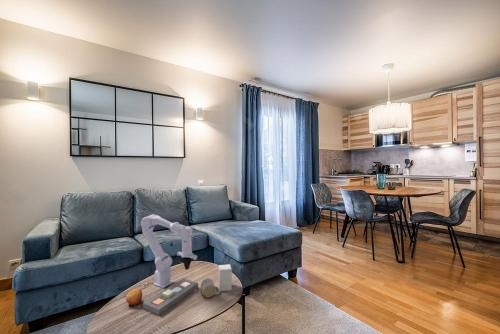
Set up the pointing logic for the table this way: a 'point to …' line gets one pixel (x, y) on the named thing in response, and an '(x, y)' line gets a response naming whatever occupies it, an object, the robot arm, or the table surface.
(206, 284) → the ceramic mug
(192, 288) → the keypad
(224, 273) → the supplement box
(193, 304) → the table surface
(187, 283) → the key ivory
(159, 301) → the key terracotta
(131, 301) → the fruit
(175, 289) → the key bluegrey
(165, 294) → the key sage
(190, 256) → the robot arm
